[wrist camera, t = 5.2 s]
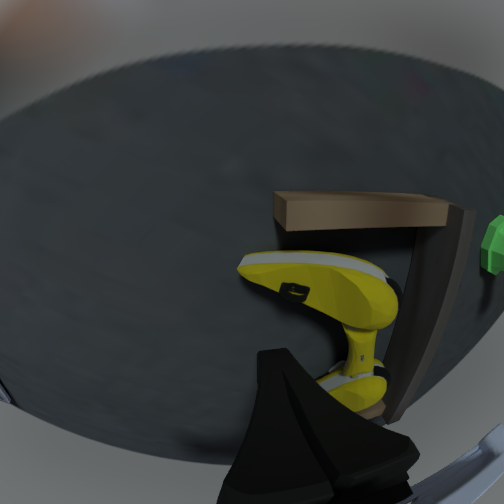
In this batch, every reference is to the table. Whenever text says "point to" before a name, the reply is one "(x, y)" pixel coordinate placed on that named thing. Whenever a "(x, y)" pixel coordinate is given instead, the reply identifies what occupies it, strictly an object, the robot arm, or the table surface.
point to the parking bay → (420, 275)
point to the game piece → (493, 247)
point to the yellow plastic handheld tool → (337, 311)
